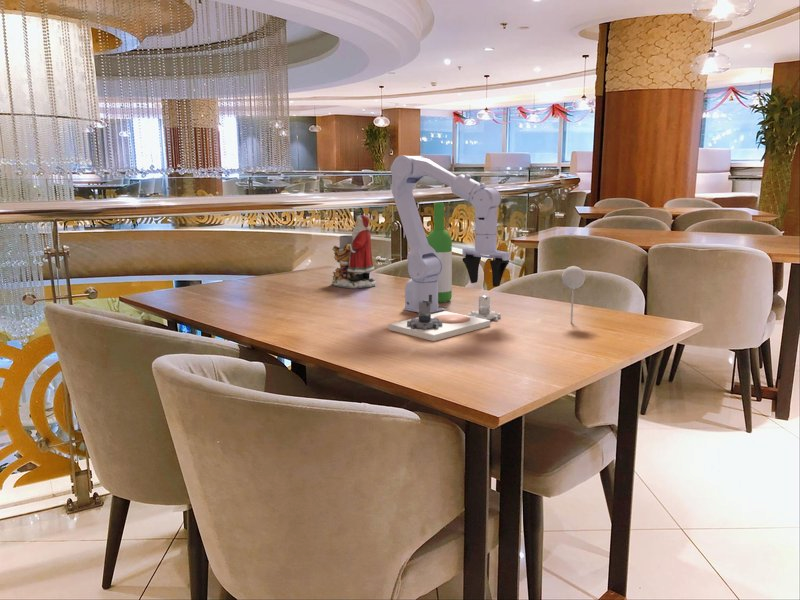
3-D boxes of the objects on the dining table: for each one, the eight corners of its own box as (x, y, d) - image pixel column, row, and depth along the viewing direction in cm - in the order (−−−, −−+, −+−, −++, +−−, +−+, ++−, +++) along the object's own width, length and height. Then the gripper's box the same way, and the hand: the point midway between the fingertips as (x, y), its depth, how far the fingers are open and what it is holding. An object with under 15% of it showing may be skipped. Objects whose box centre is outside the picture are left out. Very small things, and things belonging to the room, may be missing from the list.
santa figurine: (325, 283, 233) (323, 213, 228) (360, 280, 240) (360, 212, 234) (343, 291, 219) (342, 217, 213) (381, 287, 225) (380, 215, 220)
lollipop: (566, 326, 166) (568, 268, 163) (555, 321, 172) (557, 265, 169) (587, 324, 168) (590, 267, 165) (576, 319, 174) (578, 264, 171)
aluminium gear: (461, 318, 177) (461, 296, 176) (482, 312, 183) (482, 292, 182) (486, 323, 171) (486, 300, 169) (507, 317, 176) (507, 296, 175)
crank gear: (399, 325, 163) (399, 293, 161) (424, 320, 168) (424, 289, 167) (424, 332, 156) (424, 298, 155) (449, 325, 162) (449, 293, 161)
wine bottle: (451, 298, 204) (452, 201, 198) (451, 303, 196) (451, 203, 190) (427, 298, 204) (426, 202, 198) (425, 303, 197) (425, 203, 191)
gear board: (388, 329, 165) (388, 323, 165) (444, 316, 179) (444, 310, 179) (433, 341, 154) (433, 334, 153) (490, 325, 168) (490, 319, 167)
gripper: (455, 233, 174) (454, 283, 177) (498, 237, 164) (497, 289, 167) (472, 231, 179) (471, 279, 182) (515, 234, 169) (513, 286, 171)
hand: (484, 284), depth 174 cm, fingers open, 7 cm apart
